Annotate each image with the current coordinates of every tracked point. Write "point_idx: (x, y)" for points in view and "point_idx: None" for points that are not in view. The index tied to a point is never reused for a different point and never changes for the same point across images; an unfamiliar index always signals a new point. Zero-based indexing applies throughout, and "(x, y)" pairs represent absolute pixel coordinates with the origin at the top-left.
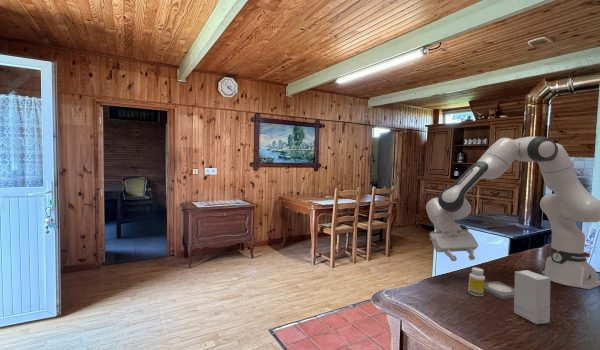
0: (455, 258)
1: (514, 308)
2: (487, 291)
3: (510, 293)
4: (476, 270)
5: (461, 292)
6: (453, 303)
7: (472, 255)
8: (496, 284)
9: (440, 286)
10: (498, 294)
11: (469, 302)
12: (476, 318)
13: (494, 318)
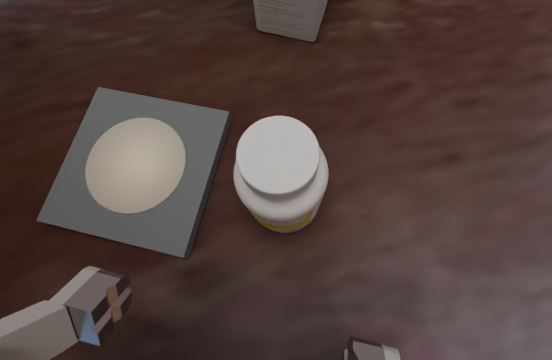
0: (369, 349)
1: (316, 27)
2: (210, 185)
3: (161, 111)
4: (315, 140)
5: (343, 239)
6: (494, 178)
7: (83, 295)
8: (102, 194)
9: None
10: (224, 127)
11: (407, 155)
12: (503, 67)
13: (432, 44)
